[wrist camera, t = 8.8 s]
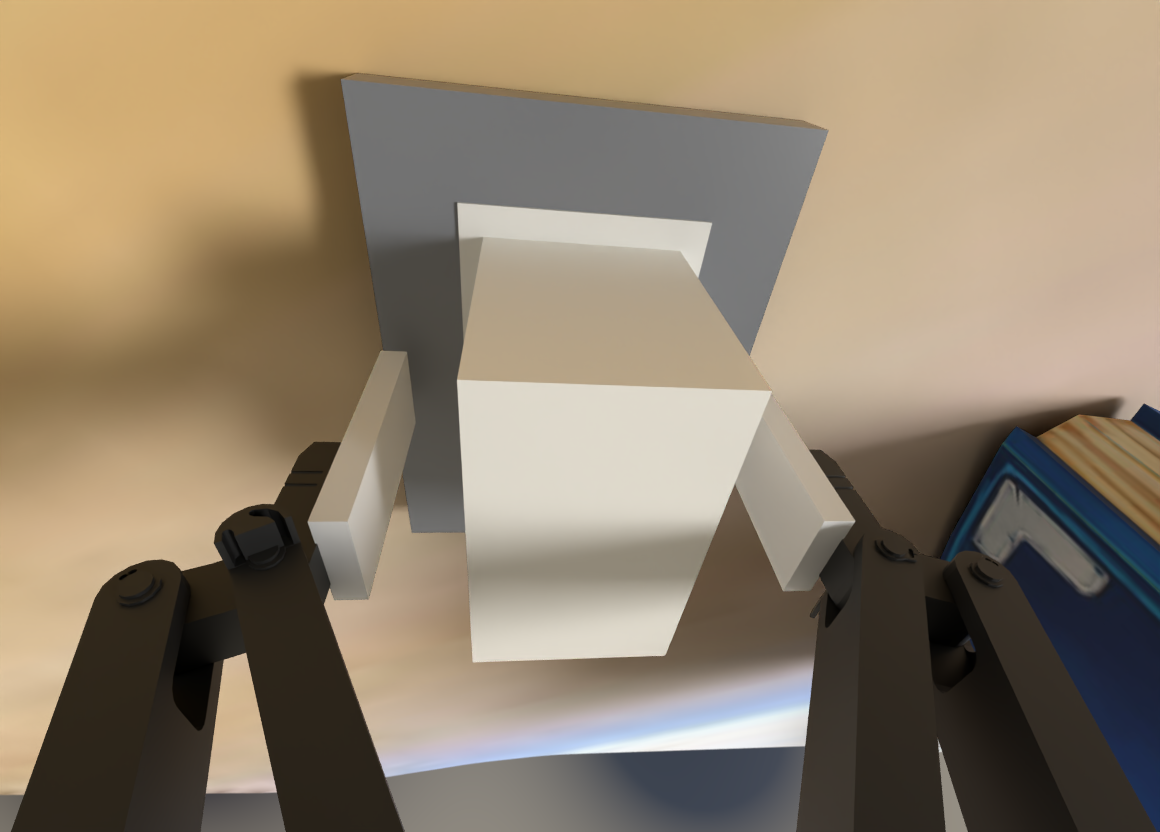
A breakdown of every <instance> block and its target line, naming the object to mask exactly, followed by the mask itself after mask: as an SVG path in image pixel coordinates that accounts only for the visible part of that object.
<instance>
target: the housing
mask: <svg viewBox="0 0 1160 832" xmlns="http://www.w3.org/2000/svg"><path fill="white" fill-rule="evenodd" d="M457 389H458V407H459V425H460V443H461V461H462V479H463V497H464V515H465V533H466V551H467V569H468V587H469V605H470V623H471V641H472V658H473V662H497V661H526V660H554V659H583V658H611V657H640V656H665V655H666V652H667V650H668V648H669V645H670V643H671V640H672V638H673V635H674V633H675V630H676V628H677V625H678V623H679V620H680V618H681V615H682V613H683V610H684V608H685V605H686V603H687V601H688V598H689V596H690V593H691V591H692V588H693V586H694V583H695V581H696V578H697V576H698V573H699V571H700V568H701V566H702V563H703V561H704V559H705V556H706V554H707V551H708V549H709V546H710V544H711V541H712V539H713V536H714V534H715V531H716V529H717V526H718V524H719V521H720V519H721V516H722V514H723V512H724V509H725V507H726V504H727V502H728V499H729V497H730V494H731V492H732V489H733V487H734V484H735V482H736V479H737V477H738V474H739V472H740V469H741V467H742V465H743V462H744V460H745V457H746V455H747V452H748V450H749V447H750V445H751V442H752V440H753V437H754V435H755V432H756V430H757V427H758V425H759V422H760V420H761V418H762V415H763V413H764V410H765V408H766V405H767V403H768V400H769V398H770V395H771V393H772V390H771V388H770V387H769V385H768V384H767V382H766V381H765V379H764V378H763V376H762V375H761V373H760V372H759V370H758V369H757V367H756V366H755V364H754V362H753V361H752V359H751V358H750V356H749V355H748V353H747V352H746V350H745V349H744V347H743V346H742V344H741V343H740V341H739V340H738V338H737V337H736V335H735V334H734V332H733V331H732V329H731V328H730V326H729V324H728V323H727V321H726V320H725V318H724V317H723V315H722V314H721V312H720V311H719V309H718V308H717V306H716V305H715V303H714V302H713V300H712V299H711V297H710V296H709V294H708V293H707V291H706V290H705V288H704V286H703V285H702V283H701V282H700V280H699V279H698V277H697V276H696V274H695V273H694V271H693V270H692V268H691V267H690V265H689V264H688V262H687V261H686V259H685V258H684V256H683V255H682V253H681V252H680V251H674V250H660V249H646V248H632V247H618V246H604V245H589V244H575V243H561V242H547V241H533V240H519V239H505V238H491V237H483V241H482V247H481V252H480V258H479V263H478V269H477V274H476V279H475V285H474V290H473V296H472V301H471V307H470V312H469V317H468V323H467V328H466V334H465V339H464V344H463V350H462V355H461V361H460V366H459V372H458V377H457Z"/></svg>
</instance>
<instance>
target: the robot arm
mask: <svg viewBox="0 0 1160 832" xmlns="http://www.w3.org/2000/svg"><path fill="white" fill-rule="evenodd" d="M415 423H416V421H415V413H414V405H413V397H412V388H411V380H410V372H409V364H408V356H407V352H404V351H380V353H379V356H378V358H377V360H376V363H375V365H374V367H373V370H372V372H371V374H370V377H369V379H368V381H367V384H366V386H365V388H364V391H363V393H362V395H361V398H360V400H359V402H358V405H357V407H356V409H355V412H354V414H353V416H352V419H351V421H350V423H349V426H348V428H347V431H346V433H345V435H344V438H343V440H342V442H314V443H313V444H312V445H311V446H309V447H308V448H307V449H306V450H305V451H304V452H302V453H301V454H300V455H299V457H298V459H297V461H296V463H295V464H294V466H293V468H292V470H291V474H289V476H288V478H287V480H286V482H285V487H283V488H282V490H281V492H280V494H279V496H278V498H277V500H276V502H275V504H260V505H255V506H251V507H247V508H245V509H243V510H240V511H238V512H236V513H234V514H233V515H231V516H230V517H229V518H227V519H226V520H225V521H224V522H222V524H221V525H220V527H219V528H218V530H217V531H216V533H215V539H214V544H215V546H216V548H217V550H218V552H219V554H220V556H221V558H222V561H219V562H216V563H213V564H209V565H205V566H201V567H197V568H193V569H189V570H185V571H181V570H180V569H179V568H178V567H177V566H176V565H175V564H174V563H173V562H170V561H166V560H150V561H145V562H142V563H139V564H135V565H132V566H130V567H128V568H126V569H125V570H123V571H121V572H119V573H118V574H116V575H114V576H113V577H112V578H111V579H110V580H109V581H108V582H107V583H105V584H104V585H103V586H102V588H101V589H100V591H99V593H98V594H97V596H96V597H95V599H94V602H93V605H92V608H91V611H90V613H89V616H88V619H87V622H86V624H85V627H84V630H83V633H82V636H81V638H80V641H79V644H78V647H77V650H76V652H75V655H74V658H73V661H72V663H71V666H70V669H69V672H68V675H67V677H66V680H65V683H64V686H63V688H62V691H61V694H60V697H59V700H58V702H57V705H56V708H55V711H54V713H53V716H52V719H51V722H50V725H49V727H48V730H47V733H46V736H45V739H44V741H43V744H42V747H41V750H40V752H39V755H38V758H37V761H36V764H35V766H34V769H33V772H32V775H31V777H30V780H29V783H28V786H27V789H26V791H25V794H24V797H23V800H22V803H21V805H20V808H19V811H18V814H17V817H16V819H15V822H14V825H13V828H12V830H11V832H200V831H201V824H202V817H203V809H204V802H205V794H206V787H207V780H208V772H209V765H210V757H211V750H212V742H213V735H214V728H215V720H216V713H217V705H218V698H219V691H220V683H221V676H222V668H223V661H224V659H227V658H231V657H234V656H237V655H240V654H243V653H246V654H247V658H248V663H249V667H250V672H251V676H252V681H253V685H254V690H255V694H256V699H257V703H258V708H259V712H260V717H261V721H262V726H263V731H264V735H265V740H266V744H267V749H268V753H269V758H270V762H271V767H272V771H273V776H274V780H275V785H276V789H277V794H278V798H279V803H280V808H281V812H282V816H283V821H284V825H285V830H286V832H404V828H403V825H402V822H401V819H400V817H399V814H398V811H397V808H396V805H395V803H394V800H393V797H392V794H391V791H390V789H389V786H388V783H387V780H386V777H385V775H384V772H383V769H382V766H381V763H380V761H379V758H378V755H377V752H376V749H375V747H374V744H373V741H372V738H371V735H370V733H369V730H368V727H367V724H366V721H365V719H364V716H363V713H362V710H361V707H360V705H359V702H358V699H357V696H356V693H355V691H354V688H353V685H352V682H351V679H350V677H349V674H348V671H347V668H346V665H345V663H344V660H343V657H342V654H341V652H340V649H339V646H338V643H337V640H336V638H335V635H334V632H333V629H332V626H331V624H330V621H329V618H328V615H327V612H326V610H325V607H324V602H325V599H326V596H327V593H328V591H329V588H330V589H331V592H332V595H333V598H334V600H365V599H369V596H370V592H371V589H372V585H373V581H374V577H375V574H376V570H377V566H378V562H379V559H380V555H381V551H382V547H383V544H384V540H385V536H386V532H387V528H388V525H389V521H390V517H391V513H392V510H393V506H394V502H395V498H396V495H397V491H398V487H399V483H400V480H401V476H402V472H403V468H404V465H405V461H406V457H407V453H408V449H409V446H410V442H411V438H412V434H413V431H414V427H415ZM735 485H736V488H737V490H738V492H739V494H740V496H741V499H742V501H743V503H744V505H745V508H746V510H747V512H748V514H749V516H750V519H751V521H752V523H753V525H754V528H755V530H756V532H757V534H758V536H759V539H760V541H761V543H762V545H763V548H764V550H765V552H766V554H767V556H768V559H769V561H770V563H771V565H772V568H773V570H774V572H775V574H776V576H777V579H778V581H779V583H780V585H781V588H782V590H783V591H811V589H812V588H813V586H814V584H815V583H816V581H817V580H818V578H819V577H820V578H821V580H822V582H823V584H824V586H825V588H826V591H825V592H824V594H823V595H822V597H821V598H820V600H819V601H818V602H817V604H816V605H815V607H814V608H813V610H812V612H811V614H810V617H812V618H815V616H816V615H817V613H818V612H819V611H820V613H819V622H818V632H817V641H816V651H815V660H814V669H813V679H812V688H811V698H810V707H809V717H808V726H807V736H806V745H805V756H804V765H803V774H802V783H801V792H800V802H799V811H798V821H797V830H796V832H946V830H945V820H944V807H943V796H942V785H941V774H940V762H939V750H938V740H939V743H940V746H941V749H942V752H943V755H944V759H945V762H946V765H947V768H948V771H949V774H950V777H951V781H952V784H953V787H954V790H955V793H956V796H957V799H958V802H959V805H960V809H961V812H962V815H963V818H964V821H965V824H966V827H967V830H968V832H1157V831H1156V829H1155V827H1154V825H1153V824H1152V822H1151V820H1150V818H1149V816H1148V815H1147V813H1146V811H1145V809H1144V807H1143V806H1142V804H1141V802H1140V800H1139V798H1138V797H1137V795H1136V793H1135V791H1134V790H1133V788H1132V786H1131V784H1130V782H1129V781H1128V779H1127V777H1126V775H1125V773H1124V772H1123V770H1122V768H1121V766H1120V764H1119V763H1118V761H1117V759H1116V757H1115V756H1114V754H1113V752H1112V750H1111V748H1110V747H1109V745H1108V743H1107V741H1106V739H1105V738H1104V736H1103V734H1102V732H1101V730H1100V729H1099V727H1098V725H1097V723H1096V722H1095V720H1094V718H1093V716H1092V714H1091V713H1090V711H1089V709H1088V707H1087V705H1086V704H1085V702H1084V700H1083V698H1082V697H1081V695H1080V693H1079V691H1078V689H1077V688H1076V686H1075V684H1074V682H1073V680H1072V679H1071V677H1070V675H1069V673H1068V671H1067V670H1066V668H1065V666H1064V664H1063V663H1062V661H1061V659H1060V657H1059V655H1058V654H1057V652H1056V650H1055V648H1054V646H1053V645H1052V643H1051V641H1050V639H1049V637H1048V636H1047V634H1046V632H1045V630H1044V629H1043V627H1042V625H1041V623H1040V621H1039V620H1038V618H1037V616H1036V614H1035V612H1034V611H1033V609H1032V607H1031V605H1030V603H1029V602H1028V600H1027V598H1026V596H1025V595H1024V593H1023V591H1022V589H1021V587H1020V586H1019V584H1018V582H1017V580H1016V579H1015V578H1014V576H1013V575H1012V574H1011V572H1010V571H1009V570H1008V569H1006V568H1005V567H1004V566H1003V565H1002V564H1000V563H999V562H998V561H996V560H994V559H992V558H991V557H989V556H987V555H984V554H981V553H979V552H976V551H963V552H960V553H958V554H957V555H956V556H955V557H954V558H953V559H952V561H951V562H949V561H945V560H941V559H937V558H933V557H930V556H926V555H922V554H919V552H918V551H917V550H916V548H915V547H914V546H913V544H912V543H910V542H909V541H908V540H906V539H905V538H904V537H903V536H901V535H899V534H897V533H895V532H893V531H890V530H886V529H882V528H881V526H880V525H879V523H878V522H877V521H876V519H875V518H874V516H873V515H872V513H871V512H870V510H869V509H868V508H867V506H866V505H865V503H864V502H863V500H862V499H861V498H860V496H859V495H858V493H857V492H856V490H853V486H852V485H851V483H850V482H849V480H848V479H846V478H845V475H844V473H843V472H842V470H841V469H840V467H839V466H838V465H837V463H836V462H835V461H834V460H833V459H831V458H830V457H829V456H828V455H826V454H825V453H824V452H823V451H821V450H809V449H808V448H807V446H806V445H805V443H804V442H803V440H802V439H801V437H800V436H799V434H798V433H797V431H796V430H795V428H794V427H793V425H792V424H791V422H790V420H789V419H788V417H787V416H786V414H785V413H784V411H783V410H782V408H781V407H780V405H779V404H778V402H777V401H776V399H775V398H774V396H773V394H772V393H771V395H770V398H769V400H768V403H767V405H766V408H765V410H764V413H763V415H762V418H761V420H760V422H759V425H758V427H757V430H756V432H755V435H754V437H753V440H752V442H751V445H750V447H749V450H748V452H747V455H746V457H745V460H744V462H743V465H742V467H741V469H740V472H739V474H738V477H737V479H736V482H735ZM970 639H971V640H972V642H973V645H974V647H975V650H974V649H973V647H972V645H971V643H970ZM937 737H938V739H937Z"/></svg>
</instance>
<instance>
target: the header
mask: <svg viewBox="0 0 1160 832" xmlns="http://www.w3.org/2000/svg"><path fill="white" fill-rule="evenodd" d="M341 84H342V90H343V97H344V103H345V109H346V116H347V122H348V128H349V135H350V141H351V148H352V154H353V160H354V167H355V173H356V179H357V186H358V192H359V199H360V205H361V211H362V218H363V224H364V231H365V237H366V243H367V250H368V256H369V262H370V269H371V275H372V282H373V288H374V294H375V301H376V307H377V313H378V320H379V326H380V333H381V339H382V345H383V351H404V352H407V356H408V364H409V372H410V380H411V388H412V397H413V405H414V413H415V421H416V423H415V427H414V431H413V434H412V438H411V442H410V446H409V449H408V453H407V457H406V461H405V465H404V468H403V472H402V473H403V479H404V486H405V492H406V498H407V505H408V511H409V518H410V524H411V530H412V533H433V532H465V515H464V497H463V479H462V461H461V443H460V425H459V407H458V389H457V377H458V372H459V366H460V361H461V355H462V350H463V344H464V339H465V334H466V328H467V323H468V317H469V312H470V307H471V301H472V296H473V290H474V285H475V279H476V274H477V269H478V263H479V258H480V252H481V247H482V241H483V237H491V238H505V239H519V240H533V241H547V242H561V243H575V244H589V245H604V246H618V247H632V248H646V249H660V250H674V251H680V252H681V253H682V255H683V256H684V258H685V259H686V261H687V262H688V264H689V265H690V267H691V268H692V270H693V271H694V273H695V274H696V276H697V277H698V279H699V280H700V282H701V283H702V285H703V286H704V288H705V290H706V291H707V293H708V294H709V296H710V297H711V299H712V300H713V302H714V303H715V305H716V306H717V308H718V309H719V311H720V312H721V314H722V315H723V317H724V318H725V320H726V321H727V323H728V324H729V326H730V328H731V329H732V331H733V332H734V334H735V335H736V337H737V338H738V340H739V341H740V343H741V344H742V346H743V347H744V349H745V350H746V352H747V353H748V355H749V356H750V353H751V350H752V347H753V344H754V341H755V338H756V336H757V333H758V330H759V327H760V324H761V321H762V319H763V316H764V313H765V310H766V307H767V304H768V301H769V299H770V296H771V293H772V290H773V287H774V284H775V282H776V279H777V276H778V273H779V270H780V267H781V264H782V262H783V259H784V256H785V253H786V250H787V247H788V245H789V242H790V239H791V236H792V233H793V230H794V227H795V225H796V222H797V219H798V216H799V213H800V210H801V208H802V205H803V202H804V199H805V196H806V193H807V190H808V188H809V185H810V182H811V179H812V176H813V173H814V171H815V168H816V165H817V162H818V159H819V156H820V153H821V151H822V148H823V145H824V142H825V139H826V136H827V134H828V131H829V130H826V129H824V128H821V127H819V126H816V125H813V124H811V123H808V122H805V121H800V120H791V119H782V118H772V117H763V116H754V115H744V114H735V113H726V112H716V111H707V110H698V109H688V108H679V107H670V106H660V105H651V104H642V103H632V102H623V101H614V100H604V99H595V98H586V97H576V96H567V95H558V94H548V93H539V92H530V91H520V90H511V89H502V88H492V87H483V86H474V85H464V84H455V83H446V82H436V81H427V80H418V79H408V78H399V77H390V76H380V75H371V74H361V73H356V74H354V75H351V76H348V77H345V78H342V79H341Z"/></svg>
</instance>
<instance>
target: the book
mask: <svg viewBox="0 0 1160 832" xmlns="http://www.w3.org/2000/svg"><path fill="white" fill-rule="evenodd" d="M963 551H976V552H979V553H981V554H984V555H987V556H989V557H991V558H992V559H994V560H996V561H998V562H999V563H1000V564H1002V565H1003V566H1004V567H1005V568H1006V569H1008V570H1009V571H1010V572H1011V574H1012V575H1013V576H1014V578H1015V579H1016V580H1017V582H1018V584H1019V586H1020V587H1021V589H1022V591H1023V593H1024V595H1025V596H1026V598H1027V600H1028V602H1029V603H1030V605H1031V607H1032V609H1033V611H1034V612H1035V614H1036V616H1037V618H1038V620H1039V621H1040V623H1041V625H1042V627H1043V629H1044V630H1045V632H1046V634H1047V636H1048V637H1049V639H1050V641H1051V643H1052V645H1053V646H1054V648H1055V650H1056V652H1057V654H1058V655H1059V657H1060V659H1061V661H1062V663H1063V664H1064V666H1065V668H1066V670H1067V671H1068V673H1069V675H1070V677H1071V679H1072V680H1073V682H1074V684H1075V686H1076V688H1077V689H1078V691H1079V693H1080V695H1081V697H1082V698H1083V700H1084V702H1085V704H1086V705H1087V707H1088V709H1089V711H1090V713H1091V714H1092V716H1093V718H1094V720H1095V722H1096V723H1097V725H1098V727H1099V729H1100V730H1101V732H1102V734H1103V736H1104V738H1105V739H1106V741H1107V743H1108V745H1109V747H1110V748H1111V750H1112V752H1113V754H1114V756H1115V757H1116V759H1117V761H1118V763H1119V764H1120V766H1121V768H1122V770H1123V772H1124V773H1125V775H1126V777H1127V779H1128V781H1129V782H1130V784H1131V786H1132V788H1133V790H1134V791H1135V793H1136V795H1137V797H1138V798H1139V800H1140V802H1141V804H1142V806H1143V807H1144V809H1145V811H1146V813H1147V815H1148V816H1149V818H1150V820H1151V822H1152V824H1153V825H1154V827H1155V829H1156V831H1157V832H1160V411H1158V410H1156V409H1154V408H1152V407H1150V406H1148V405H1146V404H1143V406H1142V407H1141V408H1140V409H1139V411H1138V412H1137V413H1136V414H1135V416H1134V417H1133V418H1132V419H1131V421H1129V420H1121V419H1112V418H1104V417H1096V416H1088V415H1080V414H1079V415H1077V416H1075V417H1073V418H1071V419H1070V420H1068V421H1066V422H1064V423H1062V424H1060V425H1058V426H1057V427H1055V428H1053V429H1051V430H1049V431H1047V432H1045V433H1043V434H1042V435H1040V436H1038V437H1034V436H1032V435H1031V434H1029V433H1027V432H1026V431H1024V430H1022V429H1021V428H1019V427H1017V426H1016V427H1015V429H1014V430H1013V431H1012V432H1011V434H1010V435H1009V436H1008V437H1007V438H1006V440H1005V441H1004V442H1003V443H1002V445H1001V447H1000V449H999V450H998V452H997V454H996V456H995V457H994V459H993V461H992V463H991V465H990V466H989V468H988V470H987V472H986V473H985V475H984V477H983V479H982V480H981V482H980V484H979V486H978V488H977V489H976V491H975V493H974V495H973V496H972V498H971V500H970V502H969V504H968V505H967V507H966V509H965V511H964V512H963V514H962V516H961V518H960V520H959V521H958V523H957V525H956V527H955V528H954V530H953V532H952V534H951V536H950V538H949V541H948V543H947V545H946V547H945V549H944V552H943V554H942V556H941V558H940V559H941V560H945V561H949V562H951V561H952V559H953V558H954V557H955V556H956V555H957V554H958V553H960V552H963ZM970 643H971V645H972V647H973V649H974V650H975V647H974V645H973V642H972V640H971V639H970Z"/></svg>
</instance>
